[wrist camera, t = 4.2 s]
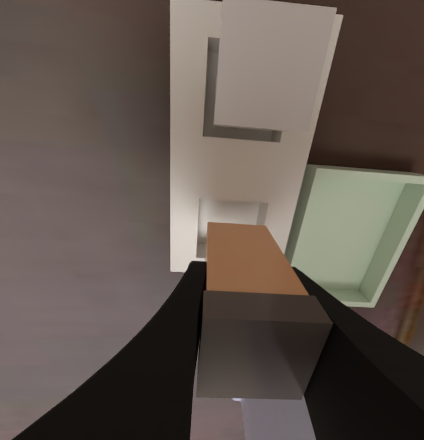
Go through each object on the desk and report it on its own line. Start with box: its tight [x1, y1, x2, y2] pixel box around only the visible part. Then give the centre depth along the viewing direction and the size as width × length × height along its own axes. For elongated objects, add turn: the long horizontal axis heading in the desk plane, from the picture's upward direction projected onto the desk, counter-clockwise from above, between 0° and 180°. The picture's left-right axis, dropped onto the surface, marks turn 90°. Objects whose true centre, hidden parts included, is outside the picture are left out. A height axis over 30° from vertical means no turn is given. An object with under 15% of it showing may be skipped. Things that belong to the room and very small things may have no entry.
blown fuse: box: [196, 222, 333, 400], centre depth 9 cm, size 3×3×6 cm
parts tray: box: [284, 164, 424, 308], centre depth 16 cm, size 11×8×2 cm
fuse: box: [213, 0, 337, 132], centre depth 10 cm, size 3×3×6 cm
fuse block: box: [170, 0, 343, 272], centre depth 14 cm, size 15×8×3 cm, turn 176°
